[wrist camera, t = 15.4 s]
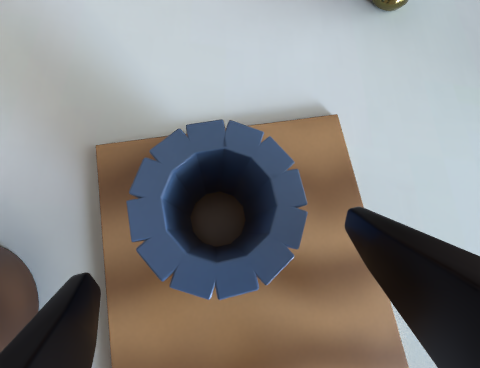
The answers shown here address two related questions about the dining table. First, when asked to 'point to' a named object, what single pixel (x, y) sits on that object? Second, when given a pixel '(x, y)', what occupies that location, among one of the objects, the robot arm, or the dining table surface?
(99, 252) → the dining table surface
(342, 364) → the wooden board
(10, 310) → the stand
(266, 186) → the sleeve
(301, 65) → the dining table surface
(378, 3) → the cup
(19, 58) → the dining table surface
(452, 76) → the dining table surface
